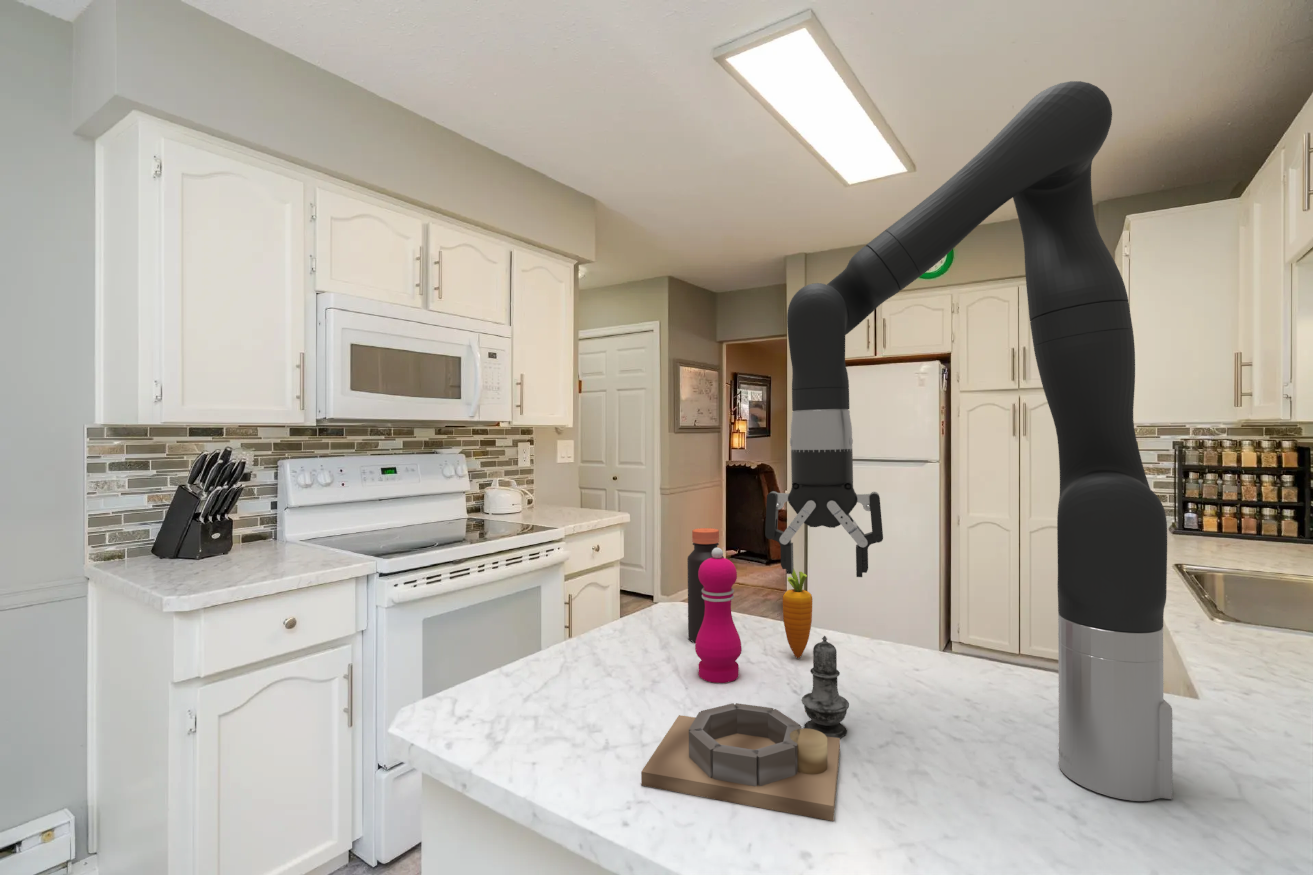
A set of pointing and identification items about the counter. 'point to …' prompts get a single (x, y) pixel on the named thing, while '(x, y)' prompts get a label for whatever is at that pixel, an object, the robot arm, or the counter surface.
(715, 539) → the bottle
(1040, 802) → the counter surface
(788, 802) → the board
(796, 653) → the carrot
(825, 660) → the salt shaker
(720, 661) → the pepper mill
